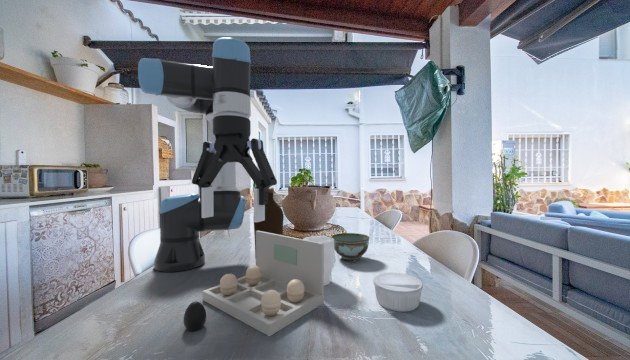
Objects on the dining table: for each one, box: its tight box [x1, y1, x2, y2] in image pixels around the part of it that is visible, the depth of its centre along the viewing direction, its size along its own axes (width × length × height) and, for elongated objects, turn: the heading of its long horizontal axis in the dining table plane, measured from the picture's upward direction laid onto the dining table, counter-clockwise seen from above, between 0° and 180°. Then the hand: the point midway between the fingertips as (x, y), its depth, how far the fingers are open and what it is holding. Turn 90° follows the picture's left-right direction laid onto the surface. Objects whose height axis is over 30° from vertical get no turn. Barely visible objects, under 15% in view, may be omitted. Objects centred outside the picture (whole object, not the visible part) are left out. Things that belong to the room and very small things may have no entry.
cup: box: [302, 235, 335, 287], centre depth 76 cm, size 9×9×12 cm
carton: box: [202, 231, 325, 337], centre depth 64 cm, size 24×17×14 cm
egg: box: [183, 301, 207, 332], centre depth 53 cm, size 4×4×5 cm
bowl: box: [331, 232, 370, 262], centre depth 97 cm, size 14×13×8 cm
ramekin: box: [372, 271, 424, 313], centre depth 64 cm, size 11×11×5 cm
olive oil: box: [252, 188, 284, 260], centre depth 97 cm, size 11×11×25 cm
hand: (232, 219), depth 57 cm, fingers open, 13 cm apart
